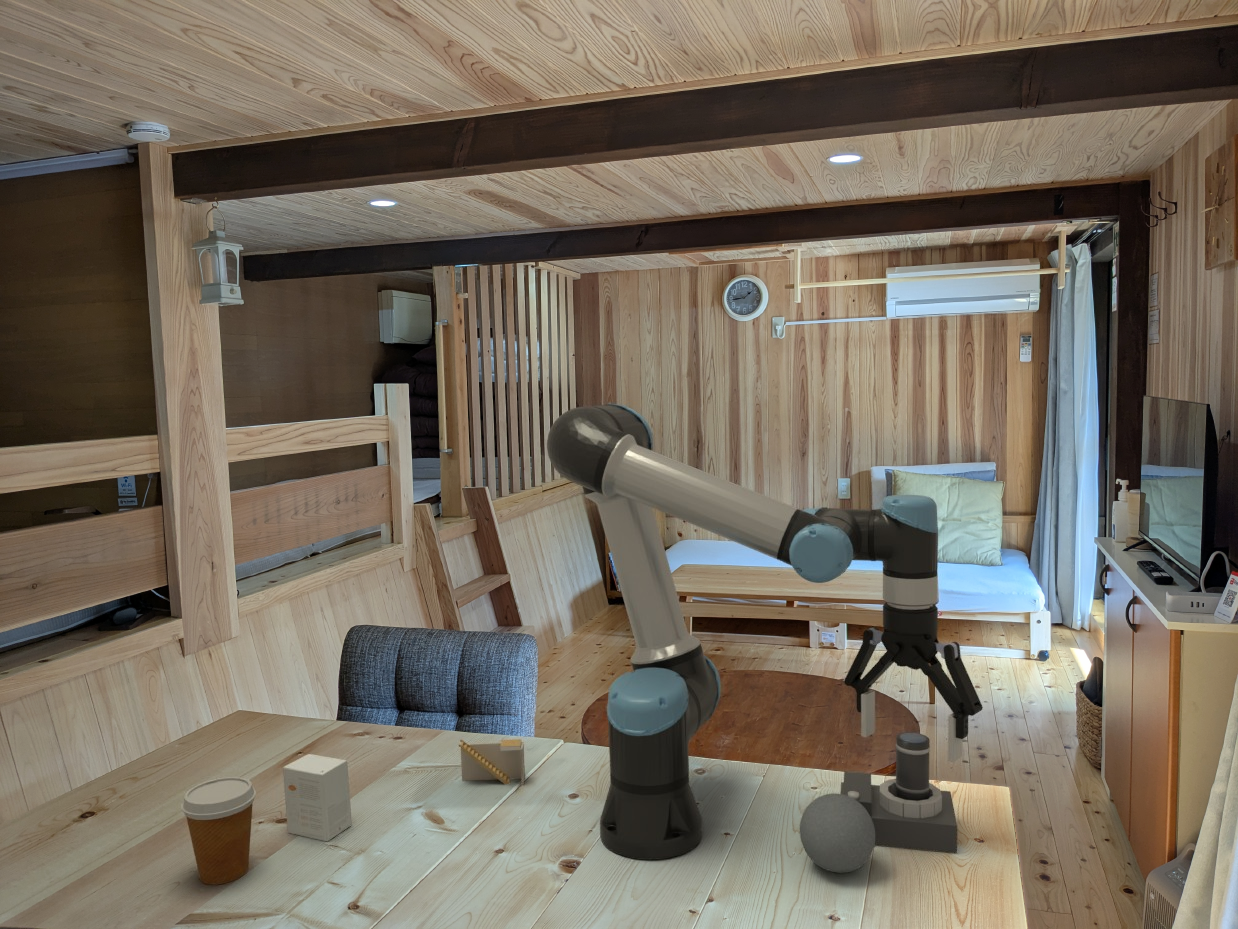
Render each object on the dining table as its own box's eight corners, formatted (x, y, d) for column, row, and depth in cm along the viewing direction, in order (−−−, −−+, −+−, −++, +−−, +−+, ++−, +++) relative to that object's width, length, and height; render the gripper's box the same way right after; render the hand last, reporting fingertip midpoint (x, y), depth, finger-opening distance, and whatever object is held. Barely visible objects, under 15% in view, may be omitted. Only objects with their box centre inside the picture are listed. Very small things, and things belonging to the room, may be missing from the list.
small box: (352, 826, 140) (349, 760, 139) (327, 843, 135) (322, 774, 134) (313, 817, 143) (309, 752, 142) (286, 833, 138) (282, 766, 137)
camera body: (839, 841, 131) (838, 797, 130) (841, 807, 141) (840, 766, 141) (957, 853, 127) (957, 808, 126) (950, 817, 137) (950, 774, 137)
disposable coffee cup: (214, 898, 121) (208, 812, 120) (172, 880, 126) (166, 796, 125) (275, 865, 129) (269, 784, 128) (233, 849, 134) (227, 770, 133)
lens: (919, 815, 130) (920, 746, 129) (889, 805, 133) (889, 737, 132) (935, 804, 133) (935, 737, 132) (905, 794, 136) (905, 728, 135)
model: (523, 788, 152) (522, 743, 152) (459, 790, 152) (457, 746, 151) (525, 779, 156) (523, 736, 155) (462, 782, 155) (460, 738, 155)
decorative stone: (813, 843, 131) (813, 775, 130) (883, 859, 126) (883, 790, 125) (789, 876, 122) (788, 804, 121) (863, 895, 117) (863, 820, 116)
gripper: (1008, 611, 124) (1006, 761, 126) (847, 586, 142) (848, 718, 144) (984, 622, 119) (983, 779, 121) (820, 595, 137) (822, 732, 139)
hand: (910, 746), depth 132 cm, fingers open, 13 cm apart
